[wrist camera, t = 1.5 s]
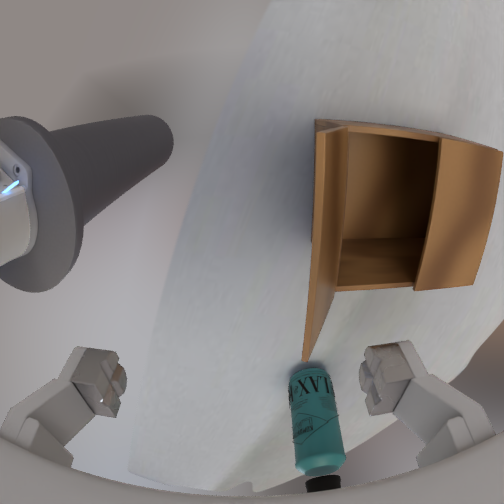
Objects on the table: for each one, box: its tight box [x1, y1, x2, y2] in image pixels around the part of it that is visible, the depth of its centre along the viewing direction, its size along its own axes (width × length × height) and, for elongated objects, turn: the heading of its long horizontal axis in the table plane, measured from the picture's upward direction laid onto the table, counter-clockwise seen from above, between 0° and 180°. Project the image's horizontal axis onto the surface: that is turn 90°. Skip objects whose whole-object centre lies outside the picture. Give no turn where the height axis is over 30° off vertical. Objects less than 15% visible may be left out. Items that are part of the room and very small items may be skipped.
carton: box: [311, 119, 503, 292], centre depth 24 cm, size 15×13×10 cm
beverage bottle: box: [288, 368, 346, 493], centre depth 33 cm, size 6×7×20 cm
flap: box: [302, 126, 348, 362], centre depth 17 cm, size 7×13×1 cm
